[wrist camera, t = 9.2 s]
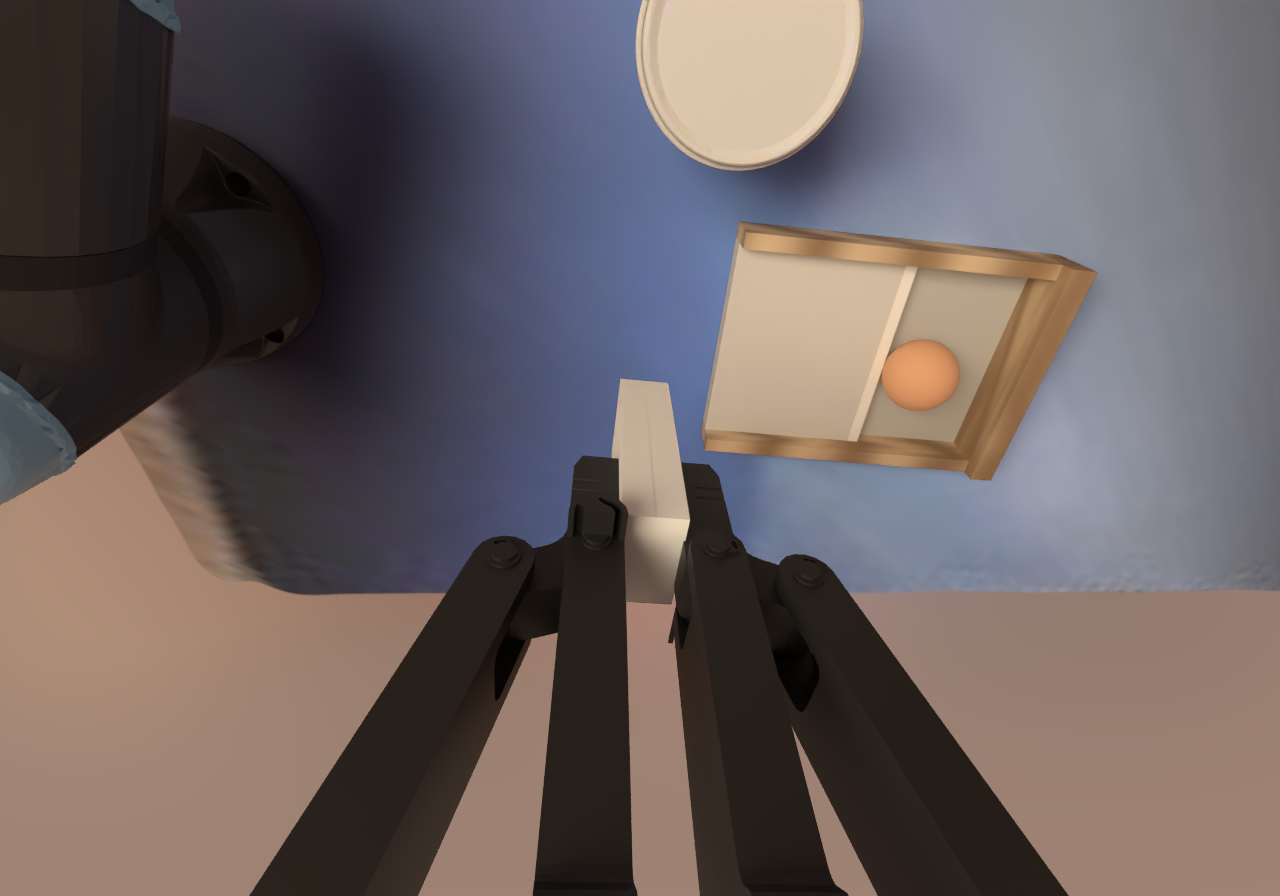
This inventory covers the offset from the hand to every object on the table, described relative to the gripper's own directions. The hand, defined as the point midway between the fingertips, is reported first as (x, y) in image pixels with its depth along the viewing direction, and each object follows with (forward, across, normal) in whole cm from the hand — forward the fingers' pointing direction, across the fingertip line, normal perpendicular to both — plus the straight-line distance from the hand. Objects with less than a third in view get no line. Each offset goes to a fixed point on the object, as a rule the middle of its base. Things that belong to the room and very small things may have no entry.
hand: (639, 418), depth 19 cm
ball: (+21, +22, -7) cm, 31 cm away
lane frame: (+24, +18, -6) cm, 31 cm away
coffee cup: (+25, +4, +10) cm, 27 cm away
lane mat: (+24, +18, -6) cm, 31 cm away
